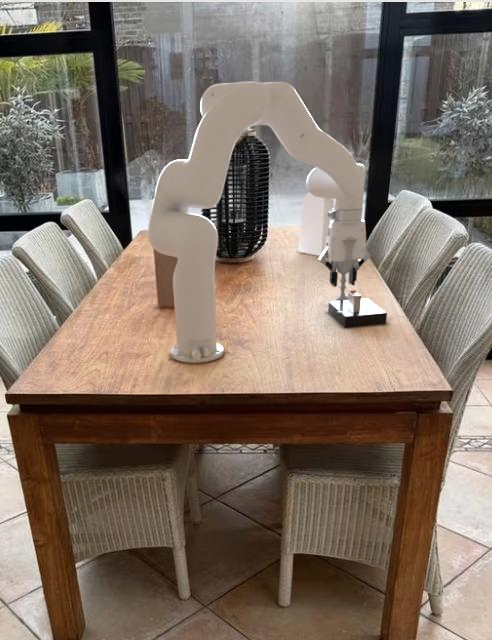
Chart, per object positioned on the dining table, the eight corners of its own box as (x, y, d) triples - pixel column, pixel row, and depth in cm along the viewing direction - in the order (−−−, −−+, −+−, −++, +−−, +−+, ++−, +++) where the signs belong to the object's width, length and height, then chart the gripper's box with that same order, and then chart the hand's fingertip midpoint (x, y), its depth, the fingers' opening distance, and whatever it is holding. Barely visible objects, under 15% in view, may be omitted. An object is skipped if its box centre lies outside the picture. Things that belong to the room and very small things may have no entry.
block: (190, 308, 190) (186, 237, 179) (157, 308, 192) (151, 237, 181) (197, 299, 198) (194, 230, 188) (165, 299, 200) (160, 230, 190)
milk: (320, 246, 252) (323, 173, 239) (343, 250, 244) (348, 174, 231) (298, 251, 246) (300, 176, 233) (321, 256, 238) (325, 178, 225)
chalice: (325, 307, 184) (328, 240, 175) (333, 300, 189) (336, 235, 180) (351, 309, 180) (355, 241, 171) (358, 302, 186) (362, 236, 176)
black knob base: (386, 324, 169) (387, 312, 167) (341, 328, 168) (342, 316, 166) (366, 309, 181) (367, 297, 179) (324, 312, 180) (325, 301, 178)
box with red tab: (359, 313, 168) (361, 294, 166) (353, 313, 168) (354, 295, 166) (353, 308, 172) (355, 289, 170) (347, 308, 172) (348, 290, 170)
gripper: (320, 219, 169) (317, 290, 178) (383, 215, 170) (376, 285, 179) (312, 215, 175) (309, 284, 184) (373, 210, 177) (367, 279, 186)
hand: (342, 284), depth 182 cm, fingers closed on chalice, 4 cm apart
